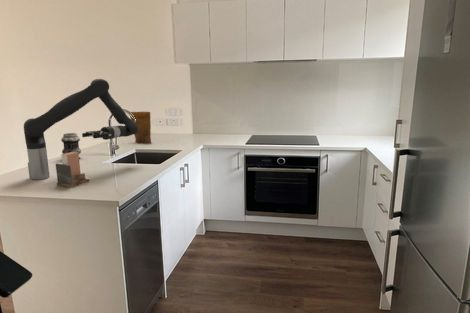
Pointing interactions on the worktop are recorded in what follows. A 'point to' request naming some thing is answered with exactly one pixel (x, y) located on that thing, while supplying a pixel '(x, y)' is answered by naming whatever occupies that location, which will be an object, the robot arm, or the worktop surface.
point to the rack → (68, 177)
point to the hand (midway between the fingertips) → (88, 135)
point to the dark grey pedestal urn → (71, 143)
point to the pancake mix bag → (142, 127)
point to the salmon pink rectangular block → (72, 162)
